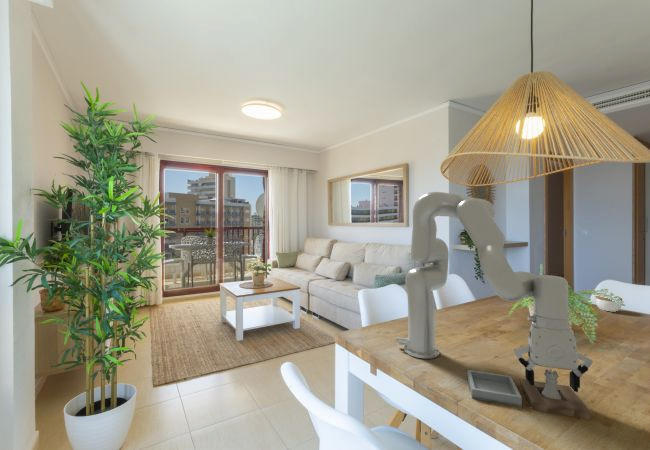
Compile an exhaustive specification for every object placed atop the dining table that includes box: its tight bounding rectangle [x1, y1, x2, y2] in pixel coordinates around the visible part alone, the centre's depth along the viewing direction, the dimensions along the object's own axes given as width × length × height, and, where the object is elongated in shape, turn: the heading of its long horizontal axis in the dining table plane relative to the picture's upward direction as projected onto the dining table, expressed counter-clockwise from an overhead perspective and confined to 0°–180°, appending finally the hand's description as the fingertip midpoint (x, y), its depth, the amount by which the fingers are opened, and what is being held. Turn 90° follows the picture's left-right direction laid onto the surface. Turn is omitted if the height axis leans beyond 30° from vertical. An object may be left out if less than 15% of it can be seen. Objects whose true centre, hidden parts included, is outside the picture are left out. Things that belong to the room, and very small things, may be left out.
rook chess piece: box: [541, 368, 561, 400], centre depth 80 cm, size 4×4×8 cm
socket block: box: [518, 378, 591, 420], centre depth 80 cm, size 12×12×2 cm
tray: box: [467, 369, 523, 408], centre depth 85 cm, size 12×12×2 cm
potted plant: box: [594, 296, 623, 313], centre depth 162 cm, size 11×11×9 cm
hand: (551, 386), depth 80 cm, fingers open, 9 cm apart
